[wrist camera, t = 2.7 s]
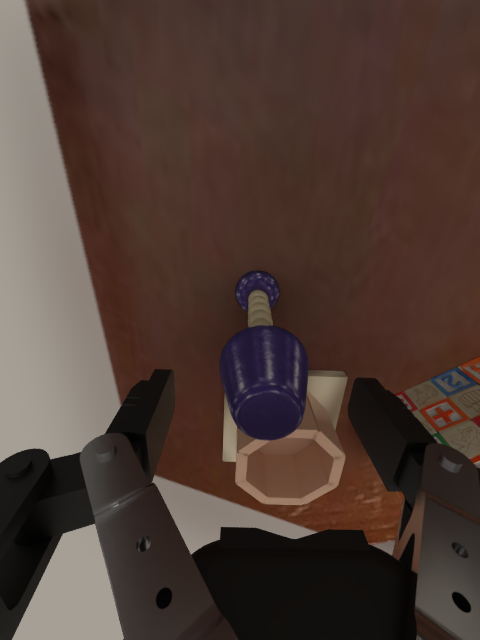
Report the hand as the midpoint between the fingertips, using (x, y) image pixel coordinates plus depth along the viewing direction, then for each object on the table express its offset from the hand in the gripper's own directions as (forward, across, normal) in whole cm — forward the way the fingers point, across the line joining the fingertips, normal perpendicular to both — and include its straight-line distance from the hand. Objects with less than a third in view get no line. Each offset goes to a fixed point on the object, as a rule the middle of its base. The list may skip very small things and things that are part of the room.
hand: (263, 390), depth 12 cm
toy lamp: (+15, 0, 0) cm, 16 cm away
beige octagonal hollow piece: (+14, -5, +15) cm, 21 cm away
